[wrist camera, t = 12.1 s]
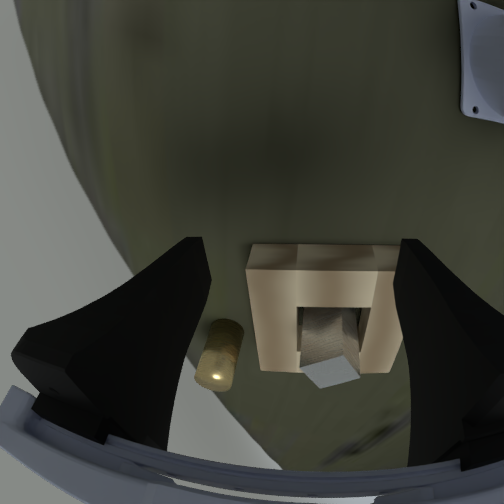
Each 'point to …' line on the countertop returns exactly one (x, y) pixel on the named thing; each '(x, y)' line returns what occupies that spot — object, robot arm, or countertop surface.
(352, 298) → the socket block
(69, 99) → the countertop surface
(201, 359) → the cylinder
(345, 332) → the square bit
